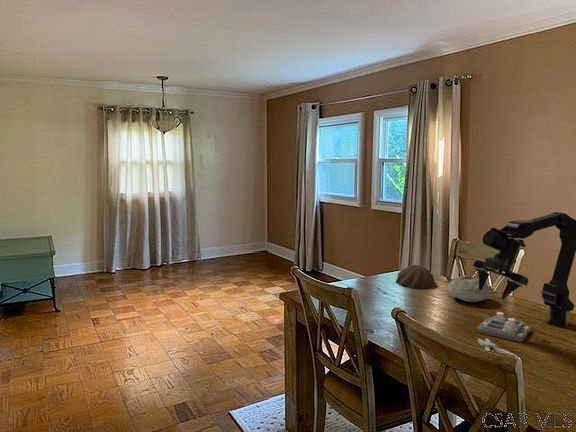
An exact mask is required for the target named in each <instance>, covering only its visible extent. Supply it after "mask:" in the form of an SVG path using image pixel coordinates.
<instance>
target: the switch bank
mask: <svg viewBox="0 0 576 432" xmlns="http://www.w3.org/2000/svg"><path fill="white" fill-rule="evenodd" d="M495 319H496V315H493V316H492V317H487V318H485V319H484V320H483V321H482V322H481V323H479V325H478V326H476V328H475V329H476V330H475V332H476V333H478V334H479V333H480V334H484V335H487V336H493V337H496V338H501V339H505V340H509V341H514V342H518V343H523V342H524V340H525V338H526V337H527V336H528V334H529V333H530V331H531V328H532V326H530V325H526V324H524V323H525V322H524V321H522V320H517V319H515V326H517V327H516V328H512V329H514V331H513V332H509V331H505V330H503V329H504V323H505V322H506V321H507V322H508V319H509V317H508V318H507V317H504V318H503V319H505V322H503V321H498V320H495Z"/></svg>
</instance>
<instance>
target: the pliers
mask: <svg viewBox="0 0 576 432" xmlns="http://www.w3.org/2000/svg"><path fill="white" fill-rule="evenodd" d="M477 343H478V344H480V345H481V346H483V347H484V350H487V351H489V352H490V351H491V349H493V350H492V351H491V352H493V353H494V351H495V352H496V353H499V354H503V355H508V354H510V355H509V356H511V355H514V356H516V357H519V356H517V355H516V354H515V353H512V352H511V351H510V350H509V351H508V350H506V349H502V348H499V347H498V345H497V344H495V343H493V342H492V341H491V340H490V339H488V338H485V340H483V339H481V338H477Z"/></svg>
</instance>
